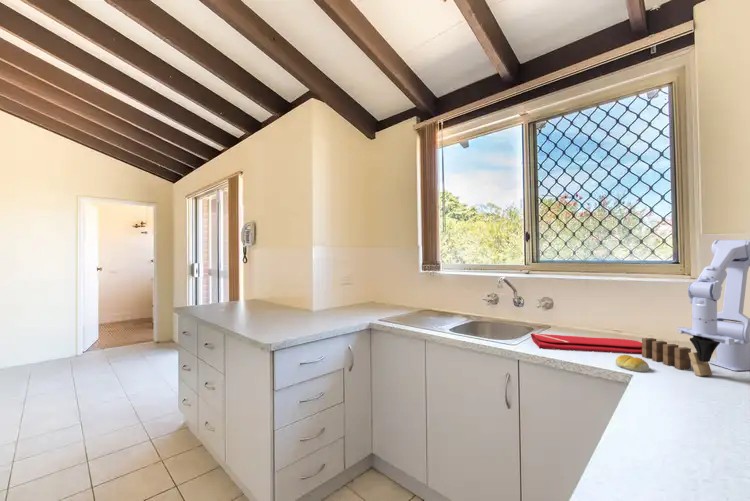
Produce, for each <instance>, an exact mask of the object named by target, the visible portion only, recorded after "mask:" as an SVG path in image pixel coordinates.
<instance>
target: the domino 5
mask: <svg viewBox="0 0 750 501" xmlns="http://www.w3.org/2000/svg"><path fill="white" fill-rule="evenodd" d="M689 357H690V360H691V367H692V369H693V372H694V376H699V377H701V376H702V377H704V376H713V373H712V372H713V371H712V369H711V367H710V363H709V362H703V361H700V359H699V356H698V353H697V351H694V352H693V351H691V353H689Z"/></svg>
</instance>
